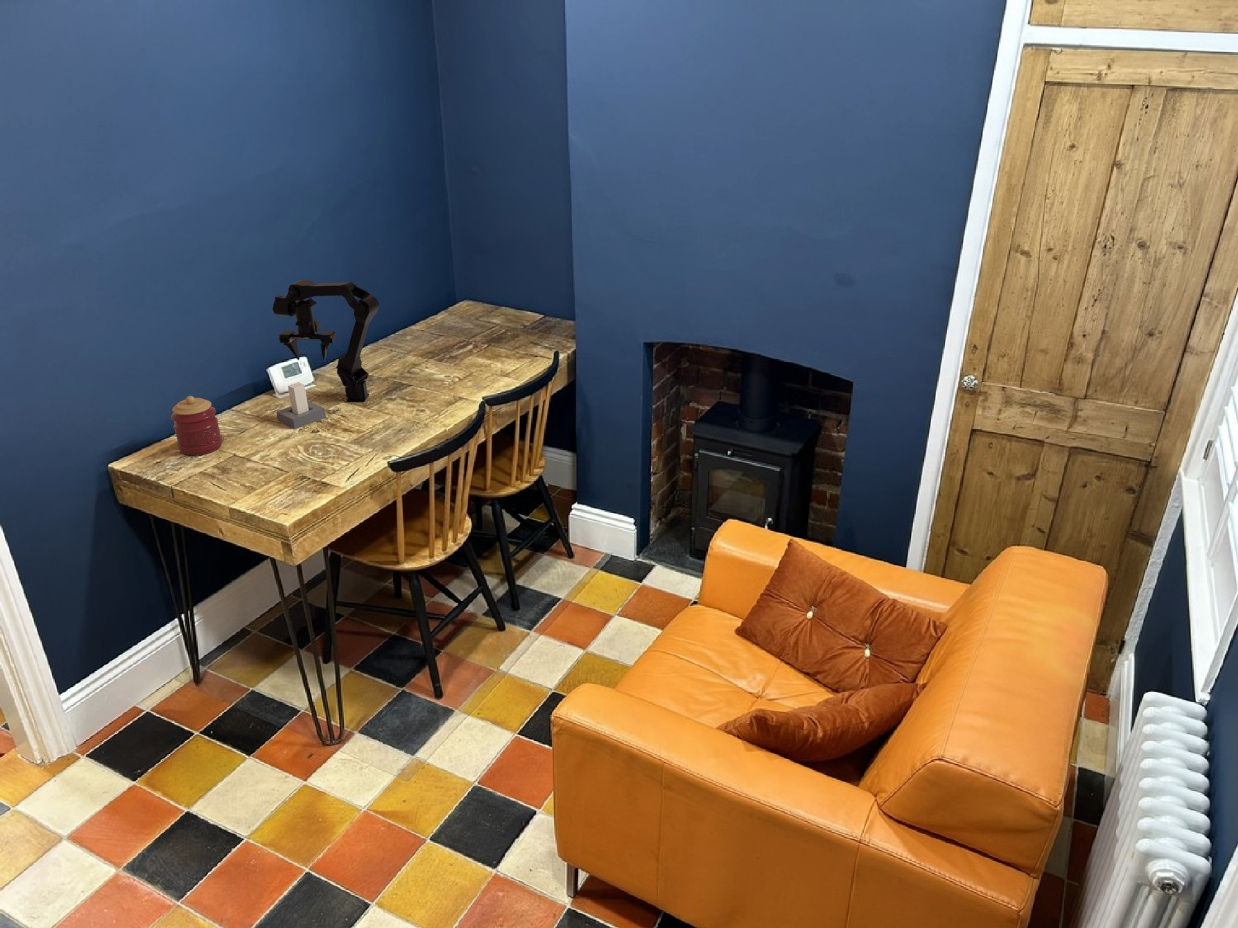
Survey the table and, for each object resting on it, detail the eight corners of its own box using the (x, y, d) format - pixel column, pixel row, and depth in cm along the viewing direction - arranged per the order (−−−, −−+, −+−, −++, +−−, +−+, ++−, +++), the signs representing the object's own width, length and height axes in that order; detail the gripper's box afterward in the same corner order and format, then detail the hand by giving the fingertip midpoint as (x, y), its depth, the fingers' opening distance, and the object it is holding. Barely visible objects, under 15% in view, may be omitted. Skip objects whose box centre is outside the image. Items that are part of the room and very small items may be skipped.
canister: (198, 459, 292) (185, 407, 284) (170, 451, 297) (157, 399, 289) (232, 443, 302) (221, 393, 294) (204, 435, 307) (193, 385, 299)
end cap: (309, 409, 325) (307, 400, 323) (325, 417, 319) (324, 408, 318) (278, 421, 317) (276, 411, 315) (294, 429, 311) (293, 419, 310)
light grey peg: (304, 416, 320) (298, 382, 315) (310, 418, 318) (304, 384, 313) (293, 420, 318) (287, 385, 312) (299, 422, 316) (293, 388, 310)
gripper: (338, 310, 331) (344, 352, 339) (286, 310, 332) (293, 351, 339) (328, 320, 322) (335, 363, 329) (274, 320, 322) (282, 362, 329)
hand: (311, 359), depth 332 cm, fingers open, 9 cm apart
